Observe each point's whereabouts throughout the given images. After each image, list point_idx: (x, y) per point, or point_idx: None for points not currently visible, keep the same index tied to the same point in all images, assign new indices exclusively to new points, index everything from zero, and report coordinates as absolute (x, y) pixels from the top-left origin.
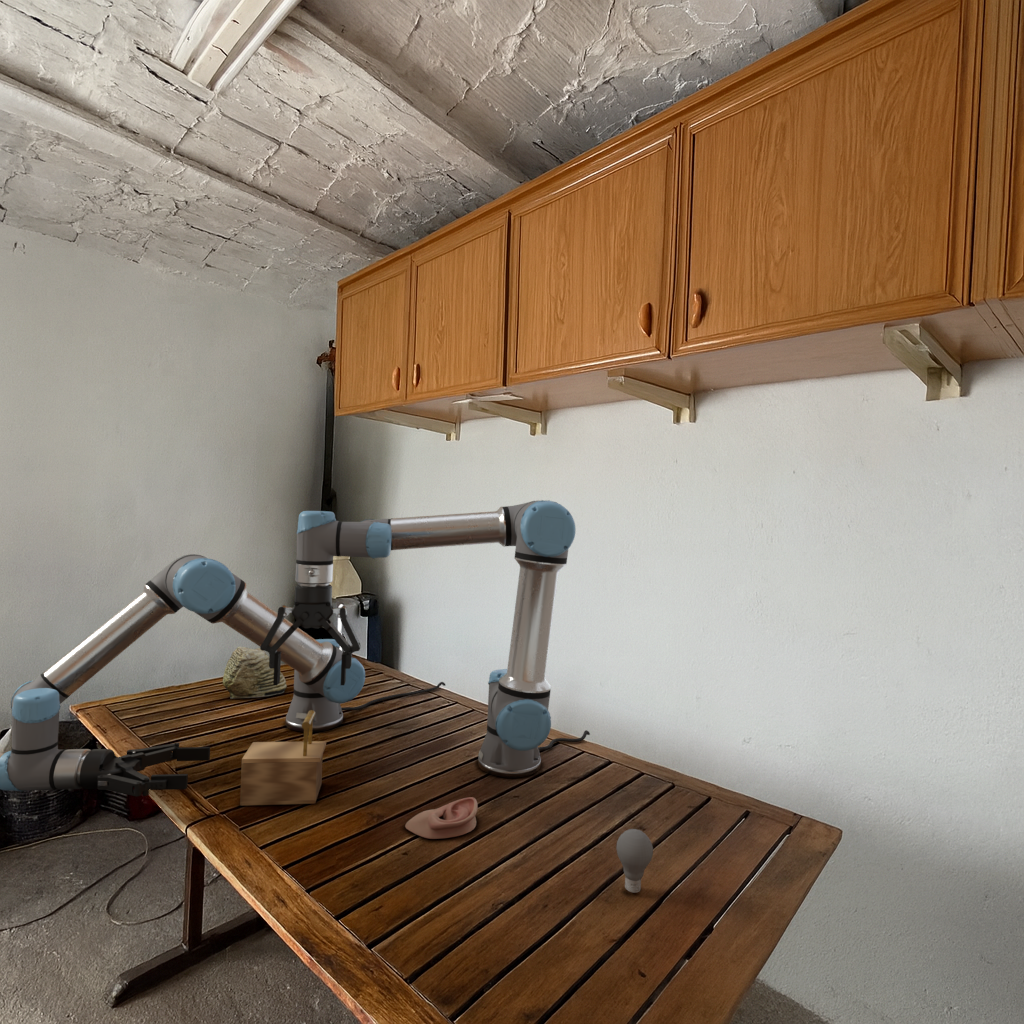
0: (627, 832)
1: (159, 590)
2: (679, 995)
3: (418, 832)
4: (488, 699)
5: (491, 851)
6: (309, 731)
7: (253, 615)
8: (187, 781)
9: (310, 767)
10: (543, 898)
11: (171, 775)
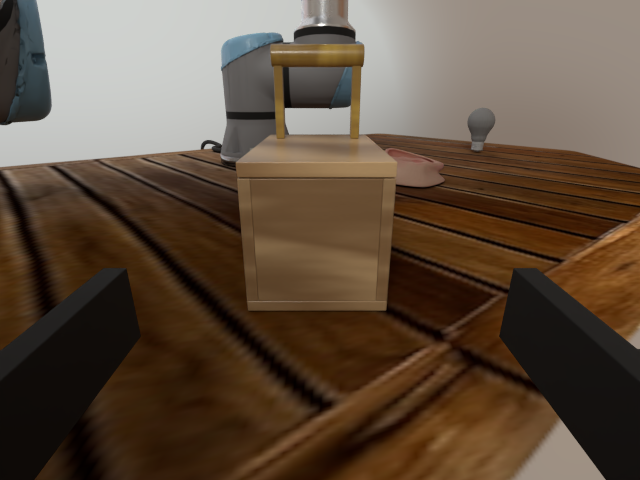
0: (483, 109)
1: None
2: (569, 153)
3: (438, 180)
4: (248, 76)
5: (449, 169)
6: (283, 103)
7: None
8: (507, 306)
9: None
10: (508, 163)
11: (586, 316)
